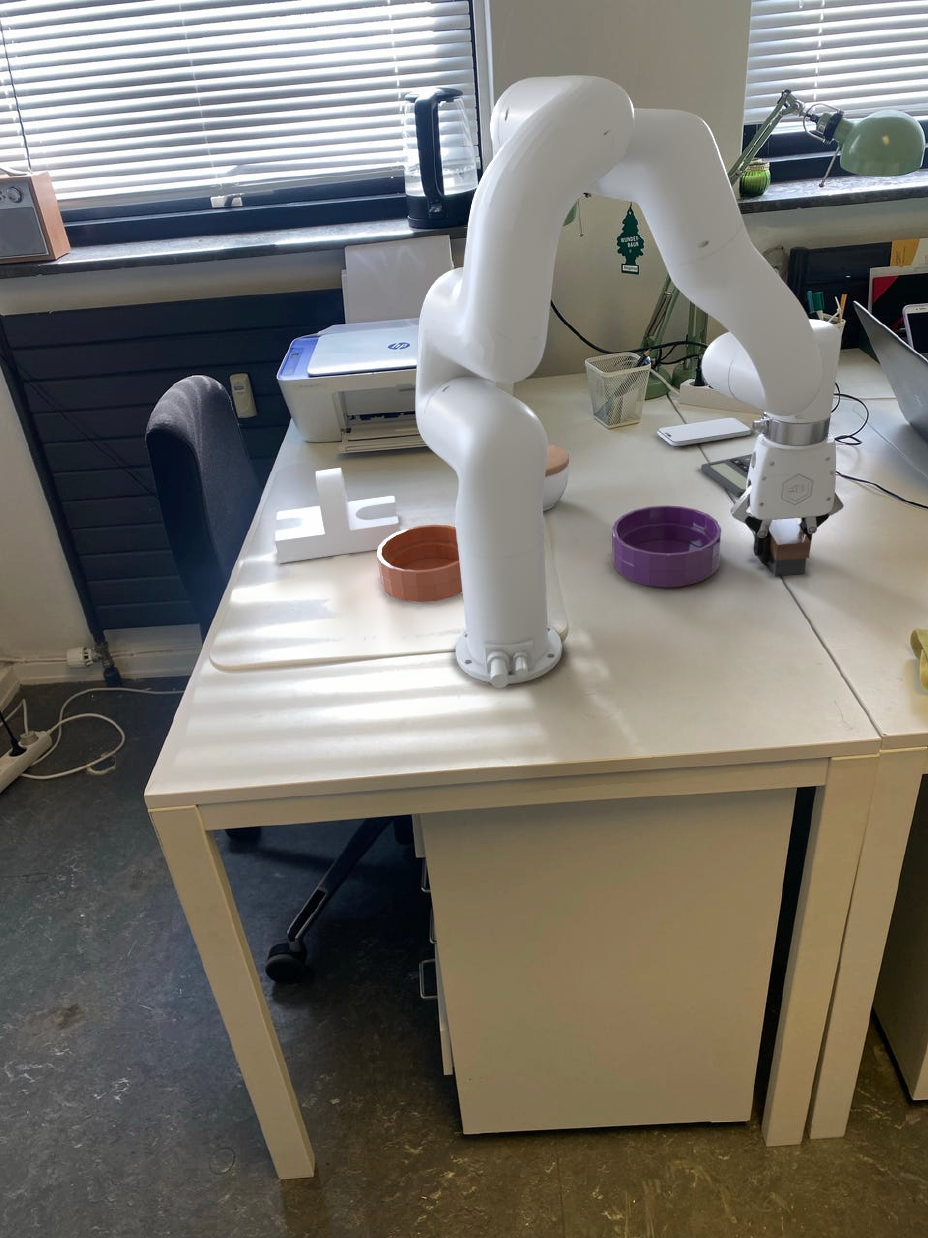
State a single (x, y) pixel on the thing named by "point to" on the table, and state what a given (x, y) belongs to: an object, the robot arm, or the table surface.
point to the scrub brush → (787, 547)
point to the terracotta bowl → (421, 563)
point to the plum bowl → (666, 546)
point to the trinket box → (555, 476)
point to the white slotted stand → (334, 523)
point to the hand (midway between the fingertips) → (780, 556)
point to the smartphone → (703, 431)
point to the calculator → (730, 473)
